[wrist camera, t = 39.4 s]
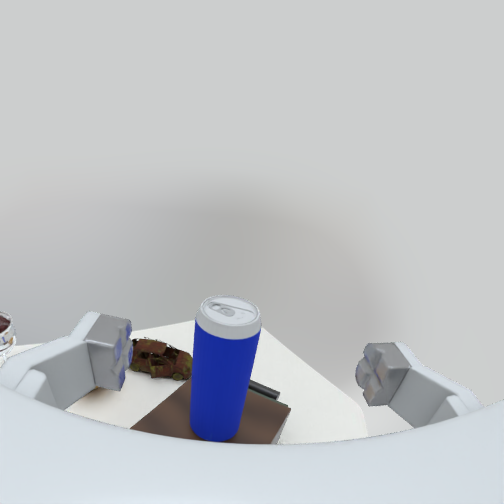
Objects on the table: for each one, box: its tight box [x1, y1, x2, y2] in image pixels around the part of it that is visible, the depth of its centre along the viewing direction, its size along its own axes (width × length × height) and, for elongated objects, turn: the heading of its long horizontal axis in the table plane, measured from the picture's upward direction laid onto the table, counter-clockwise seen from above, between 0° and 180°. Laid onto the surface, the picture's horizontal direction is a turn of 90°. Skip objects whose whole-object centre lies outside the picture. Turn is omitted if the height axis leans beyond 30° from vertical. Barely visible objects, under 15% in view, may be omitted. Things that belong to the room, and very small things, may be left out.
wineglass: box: [0, 311, 16, 362], centre depth 30 cm, size 7×7×12 cm
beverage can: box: [190, 295, 262, 442], centre depth 25 cm, size 5×5×15 cm
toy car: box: [130, 337, 193, 380], centre depth 45 cm, size 12×7×5 cm, turn 91°
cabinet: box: [130, 377, 291, 444], centre depth 29 cm, size 15×13×10 cm
